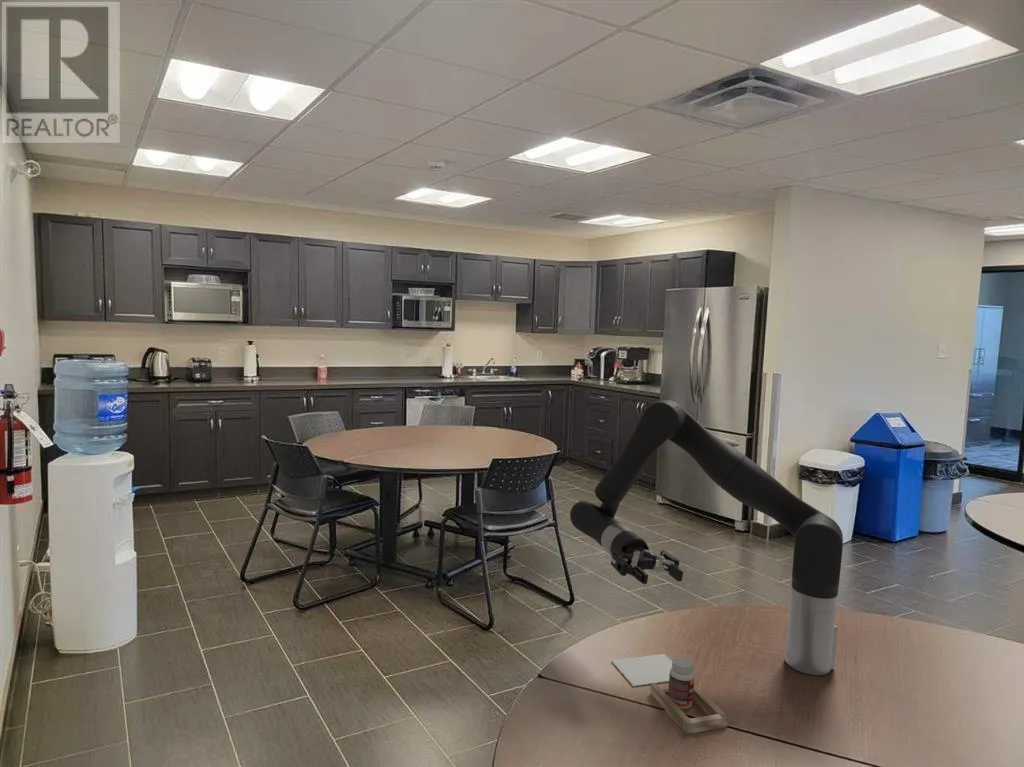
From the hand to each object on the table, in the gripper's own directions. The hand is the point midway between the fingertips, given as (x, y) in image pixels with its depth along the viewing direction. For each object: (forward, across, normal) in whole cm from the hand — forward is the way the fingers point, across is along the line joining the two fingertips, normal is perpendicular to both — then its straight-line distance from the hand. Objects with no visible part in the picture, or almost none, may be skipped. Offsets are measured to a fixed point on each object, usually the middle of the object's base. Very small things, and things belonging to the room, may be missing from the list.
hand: (663, 578), depth 134 cm
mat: (-1, +1, +22) cm, 22 cm away
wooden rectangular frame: (+14, 0, +20) cm, 24 cm away
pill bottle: (+11, 0, +21) cm, 24 cm away
